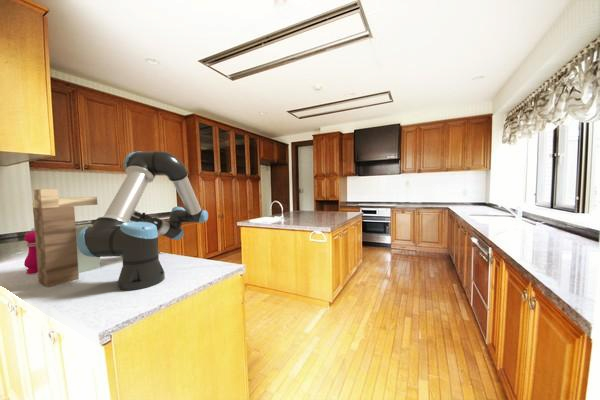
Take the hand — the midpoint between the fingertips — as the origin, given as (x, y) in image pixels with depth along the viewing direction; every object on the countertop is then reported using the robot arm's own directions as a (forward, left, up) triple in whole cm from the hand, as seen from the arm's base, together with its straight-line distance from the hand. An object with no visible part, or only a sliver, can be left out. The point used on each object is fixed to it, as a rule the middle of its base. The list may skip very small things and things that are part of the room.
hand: (119, 210), depth 112 cm
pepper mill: (+25, +22, -27) cm, 43 cm away
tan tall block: (0, +18, +3) cm, 18 cm away
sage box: (+8, +13, -27) cm, 31 cm away
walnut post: (0, +22, -27) cm, 35 cm away
